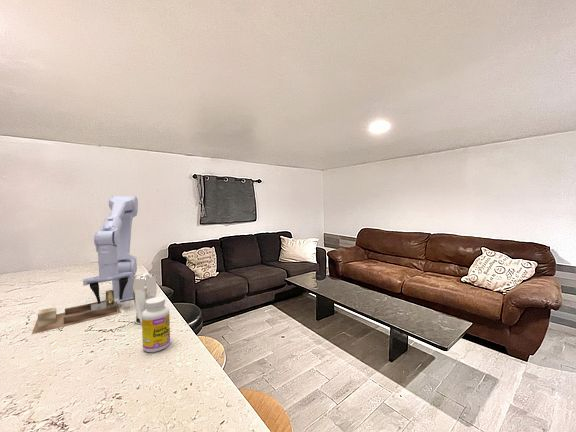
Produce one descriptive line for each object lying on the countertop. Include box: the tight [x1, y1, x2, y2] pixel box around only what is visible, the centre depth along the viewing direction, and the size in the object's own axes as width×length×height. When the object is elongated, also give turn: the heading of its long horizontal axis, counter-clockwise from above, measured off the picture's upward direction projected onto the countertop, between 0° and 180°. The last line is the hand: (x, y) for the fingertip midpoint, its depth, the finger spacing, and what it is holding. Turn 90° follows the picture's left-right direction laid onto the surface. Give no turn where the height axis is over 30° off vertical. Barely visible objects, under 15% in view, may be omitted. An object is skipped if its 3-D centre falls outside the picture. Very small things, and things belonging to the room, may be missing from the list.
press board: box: [31, 299, 122, 335], centre depth 86 cm, size 22×14×4 cm, turn 130°
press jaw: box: [91, 289, 116, 311], centre depth 90 cm, size 7×7×6 cm
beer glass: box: [133, 273, 157, 326], centre depth 84 cm, size 7×7×15 cm
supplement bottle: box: [141, 296, 171, 353], centre depth 68 cm, size 7×7×13 cm
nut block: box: [37, 306, 58, 327], centre depth 80 cm, size 4×4×4 cm
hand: (110, 300), depth 91 cm, fingers open, 6 cm apart
